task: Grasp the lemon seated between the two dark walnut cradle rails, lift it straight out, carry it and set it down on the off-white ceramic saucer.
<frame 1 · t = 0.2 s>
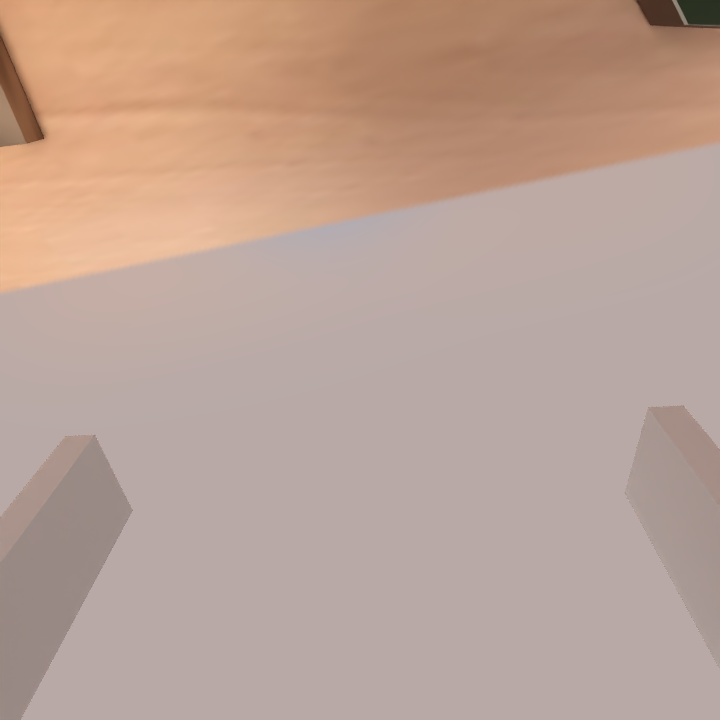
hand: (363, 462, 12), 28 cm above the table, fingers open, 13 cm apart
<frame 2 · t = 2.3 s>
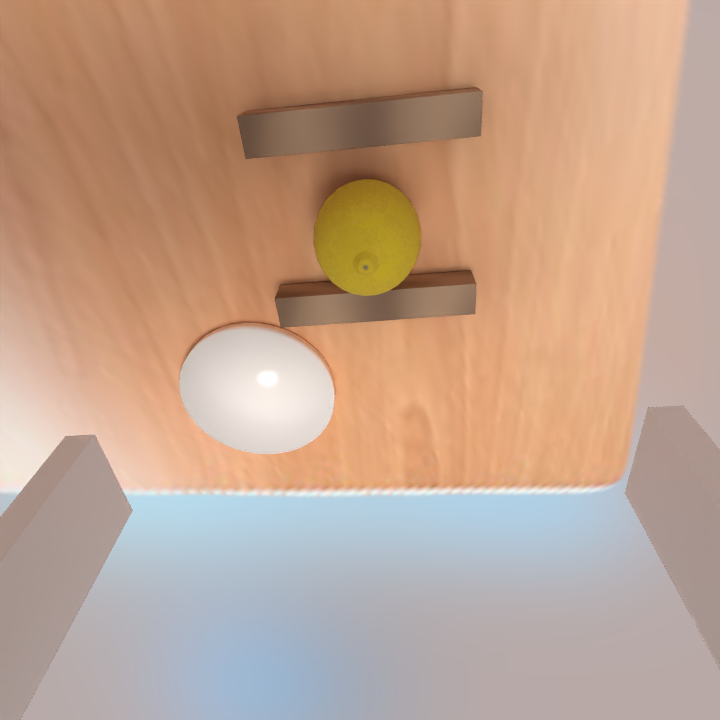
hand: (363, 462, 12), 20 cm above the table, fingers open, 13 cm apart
saucer: (259, 388, 36), on the table
pocket frame: (368, 214, 29), on the table
lemon: (368, 213, 29), on the table
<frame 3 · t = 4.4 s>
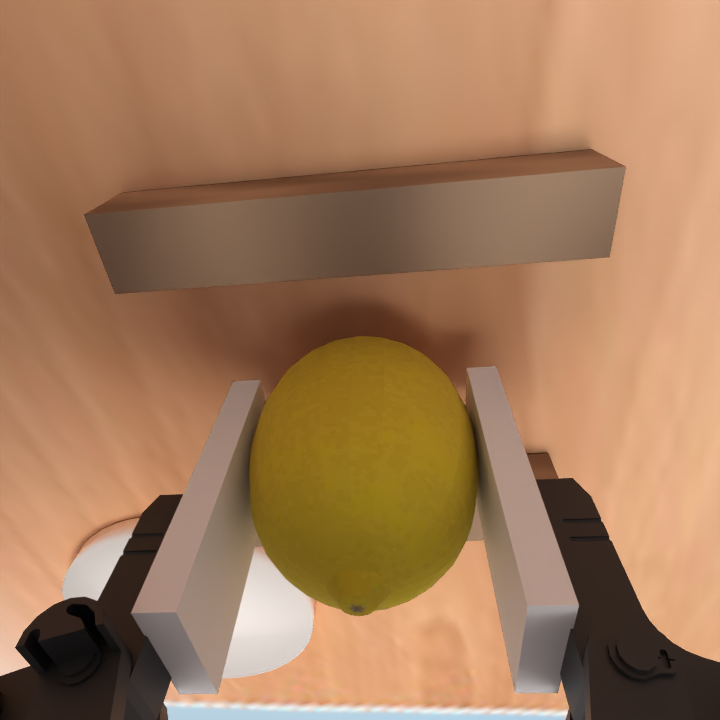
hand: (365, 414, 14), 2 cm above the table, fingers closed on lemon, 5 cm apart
saucer: (196, 595, 23), on the table
pocket frame: (368, 368, 16), on the table
lemon: (368, 364, 16), on the table, touching gripper
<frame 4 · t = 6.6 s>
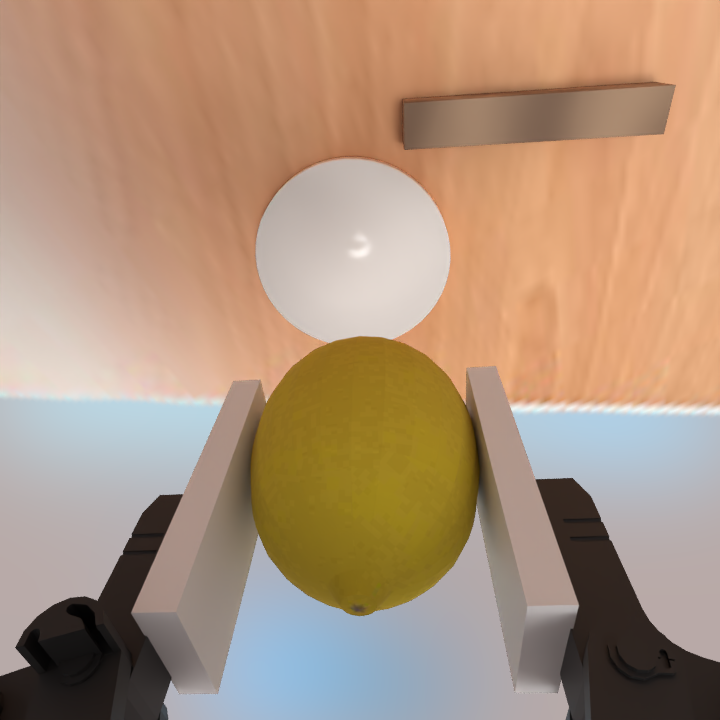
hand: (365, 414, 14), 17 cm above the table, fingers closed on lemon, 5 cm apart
saucer: (353, 256, 29), on the table
lemon: (369, 365, 16), point 14 cm above the table, touching gripper
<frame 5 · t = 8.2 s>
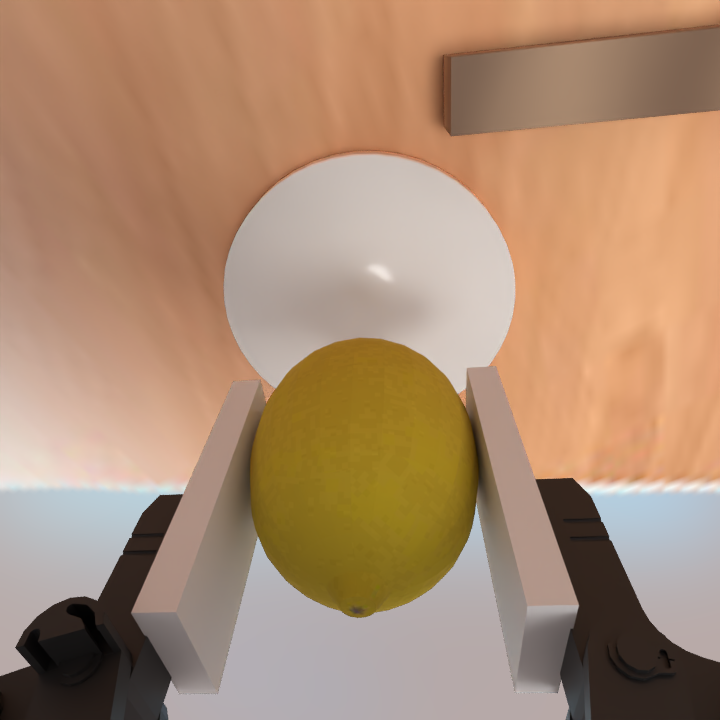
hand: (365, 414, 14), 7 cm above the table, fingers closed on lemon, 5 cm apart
saucer: (368, 297, 20), on the table
lemon: (368, 366, 16), point 5 cm above the table, touching gripper
when the fingers open (5 cm above the table, at t = 8.9 s): lemon drops 1 cm, resting on saucer.
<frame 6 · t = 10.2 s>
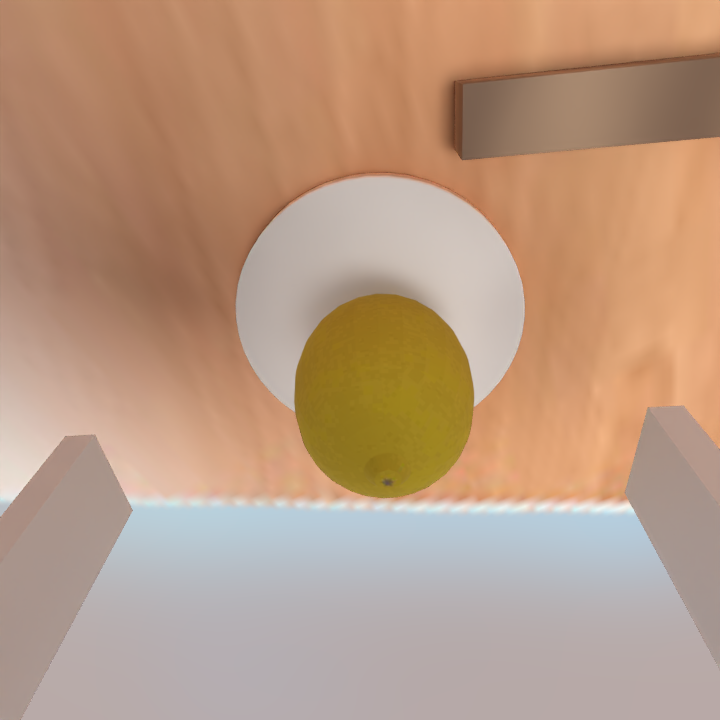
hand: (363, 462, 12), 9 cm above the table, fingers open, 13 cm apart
saucer: (378, 315, 20), on the table
lemon: (379, 325, 19), point 1 cm above the table, touching saucer
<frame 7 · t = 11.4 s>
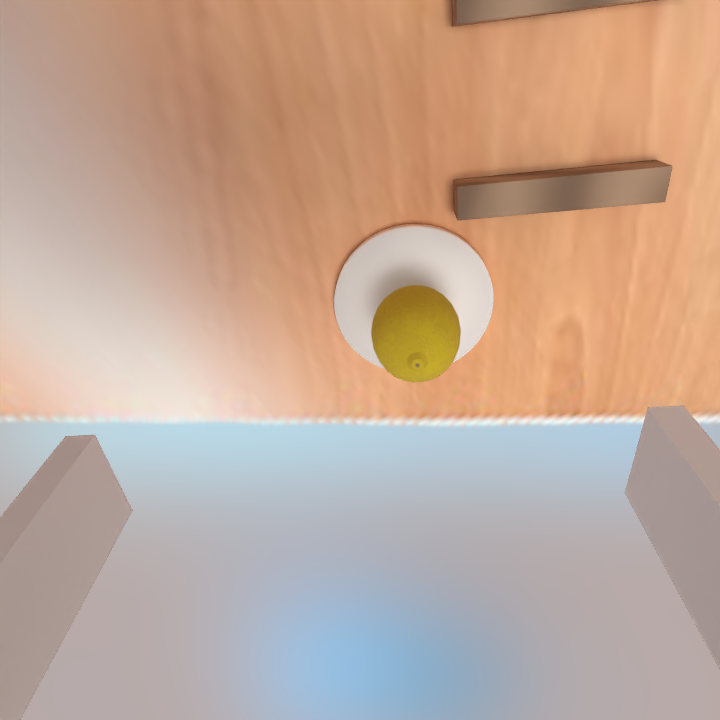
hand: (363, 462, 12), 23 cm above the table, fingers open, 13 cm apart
saucer: (412, 300, 35), on the table
pocket frame: (559, 96, 28), on the table
lemon: (413, 305, 35), point 1 cm above the table, touching saucer
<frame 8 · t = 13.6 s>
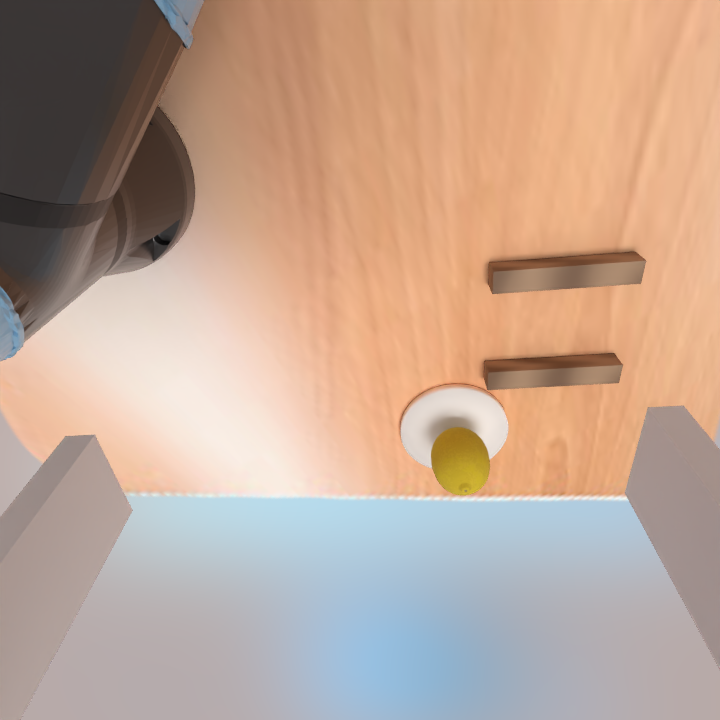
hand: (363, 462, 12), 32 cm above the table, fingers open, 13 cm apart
saucer: (452, 426, 52), on the table
pocket frame: (553, 320, 45), on the table
lemon: (454, 431, 52), point 1 cm above the table, touching saucer
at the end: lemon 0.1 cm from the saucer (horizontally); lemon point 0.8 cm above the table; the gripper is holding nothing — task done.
